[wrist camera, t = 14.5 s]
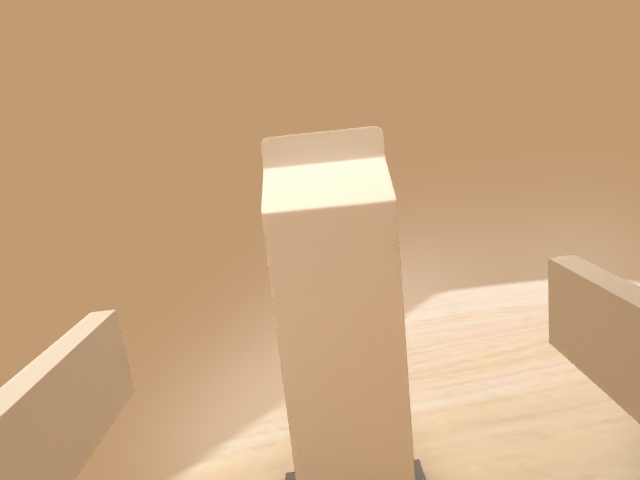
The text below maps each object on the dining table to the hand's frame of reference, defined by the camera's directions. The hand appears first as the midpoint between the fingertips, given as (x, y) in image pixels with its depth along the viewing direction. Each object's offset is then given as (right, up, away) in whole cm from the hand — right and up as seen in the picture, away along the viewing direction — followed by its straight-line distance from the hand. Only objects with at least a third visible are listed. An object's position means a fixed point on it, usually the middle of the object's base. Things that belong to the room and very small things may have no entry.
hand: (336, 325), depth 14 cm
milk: (+2, -14, +13) cm, 19 cm away
